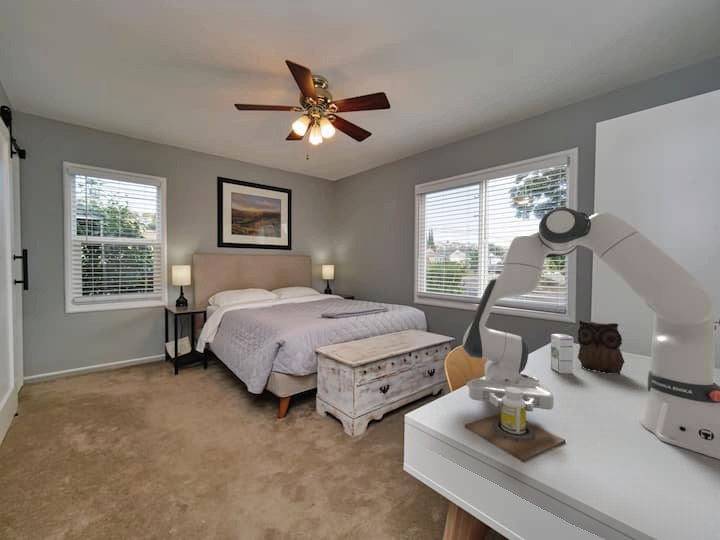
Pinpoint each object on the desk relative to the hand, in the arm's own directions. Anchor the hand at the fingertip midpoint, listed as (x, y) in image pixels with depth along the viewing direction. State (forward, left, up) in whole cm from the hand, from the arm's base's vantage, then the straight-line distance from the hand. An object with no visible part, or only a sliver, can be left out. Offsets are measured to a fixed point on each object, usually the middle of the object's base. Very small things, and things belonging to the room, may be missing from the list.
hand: (514, 406), depth 75 cm
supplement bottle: (+1, -1, -6) cm, 6 cm away
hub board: (+1, -1, -7) cm, 7 cm away
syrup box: (+22, -62, -8) cm, 66 cm away
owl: (+16, -80, -8) cm, 81 cm away
